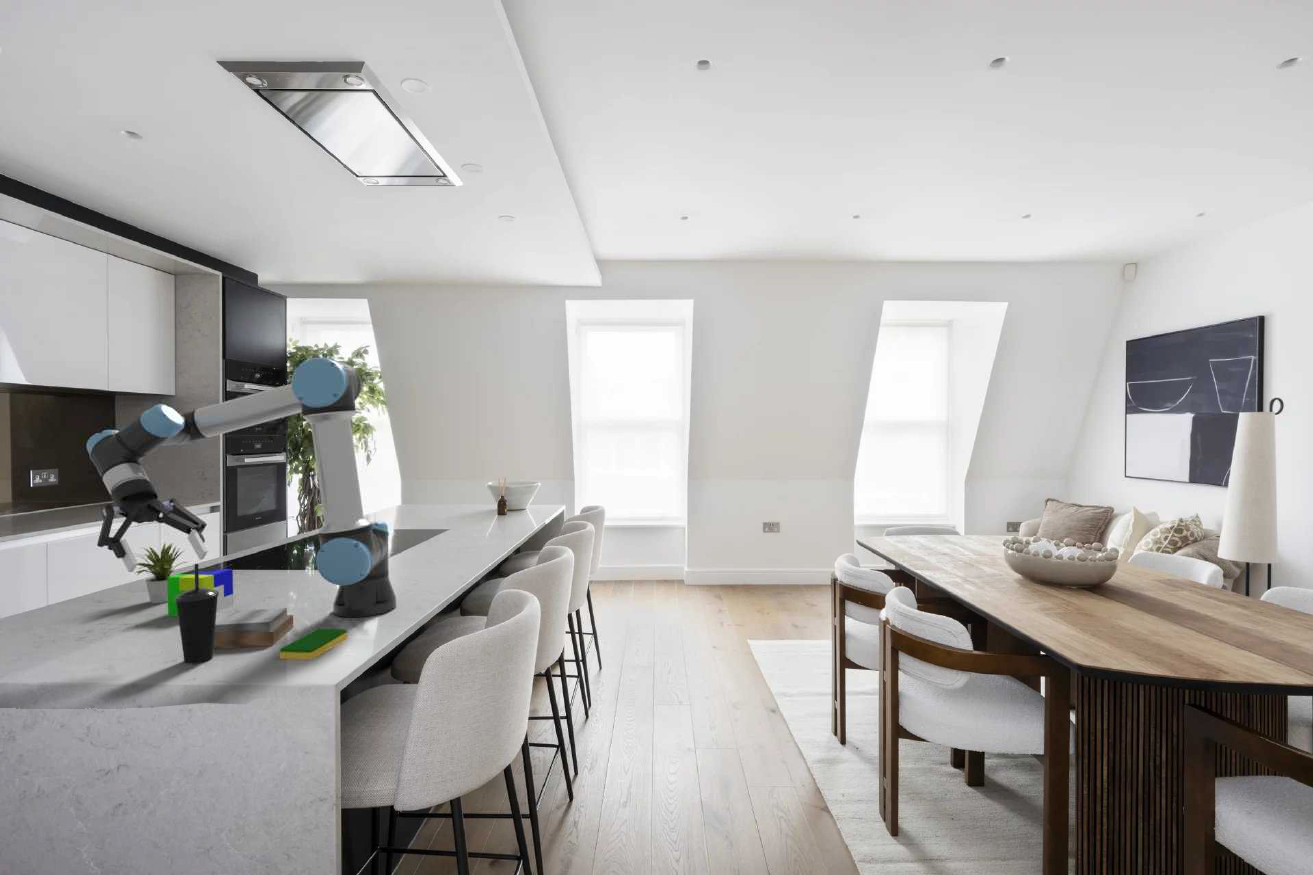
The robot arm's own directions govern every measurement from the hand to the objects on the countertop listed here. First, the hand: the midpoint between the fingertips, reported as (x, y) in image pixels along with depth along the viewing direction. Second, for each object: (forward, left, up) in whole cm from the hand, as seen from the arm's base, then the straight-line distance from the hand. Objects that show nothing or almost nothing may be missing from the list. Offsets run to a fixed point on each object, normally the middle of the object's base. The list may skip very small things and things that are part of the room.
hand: (170, 561), depth 141 cm
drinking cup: (-8, +7, -20) cm, 22 cm away
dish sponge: (-29, +3, -20) cm, 36 cm away
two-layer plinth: (-13, -7, -19) cm, 24 cm away
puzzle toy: (+9, -34, -20) cm, 40 cm away
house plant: (+25, -48, -20) cm, 57 cm away
